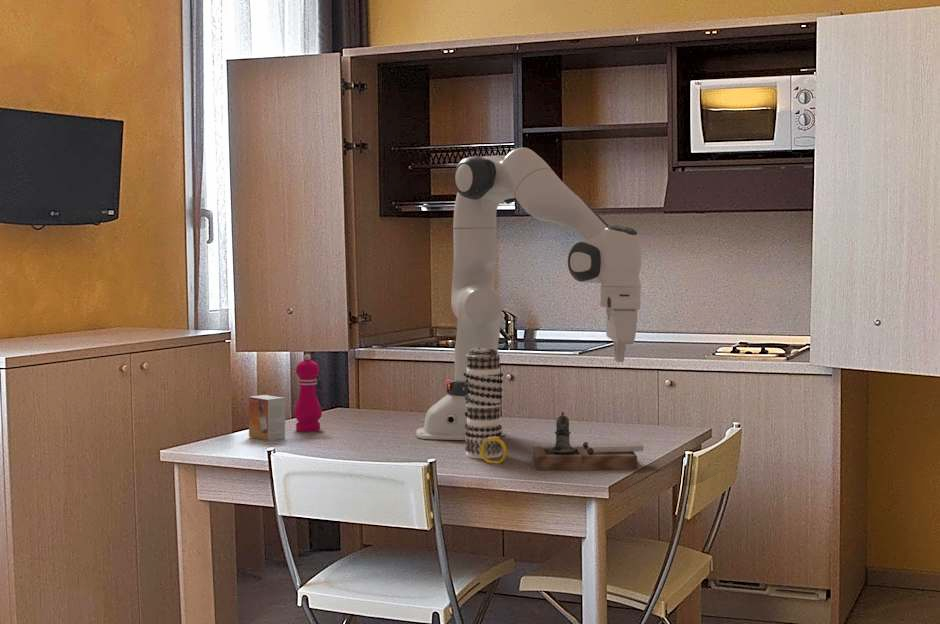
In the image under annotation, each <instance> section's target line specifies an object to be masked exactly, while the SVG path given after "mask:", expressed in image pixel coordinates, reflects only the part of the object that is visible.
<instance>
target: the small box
mask: <svg viewBox="0 0 940 624" xmlns="http://www.w3.org/2000/svg"><path fill="white" fill-rule="evenodd" d="M248 437H249V438H254V439H259V440H261V441H266V442H271V441H276V440H277V441H278V440H283V439H286V398H285V397H283V396H281V397H280V396H274V395H269V394H268V395H267V394H261V395H252V396H248Z"/></svg>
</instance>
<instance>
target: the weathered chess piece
mask: <svg viewBox="0 0 940 624" xmlns="http://www.w3.org/2000/svg"><path fill="white" fill-rule="evenodd" d="M555 420H556V421H555V422H556V425H555V427H556V431H554V434H555V444H554V446H552V447H553V448H551V449H549V450H550V451H551V455H574V451H576V449H574V448H572V447H573V446H571V442H570V435H571V431H570V420H569V417H567V416H565V413H564V411H562V412H561V415H560V416H558V417H556V419H555Z"/></svg>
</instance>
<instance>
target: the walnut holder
mask: <svg viewBox="0 0 940 624" xmlns="http://www.w3.org/2000/svg"><path fill="white" fill-rule="evenodd" d="M587 444H589V442H588V441H584V442H583V444H582V445H581V446H580V445H579V446H571V447H572V448H574V449H576V451H574V455H551V451H550V450H549V449H551V448H553V447H554V446H532V462H533V464H534V466H535V469H536V471H593V470H594V471H606V470H608V471H610V470H612V471H621V470H622V471H623V470H624V471H628V470H630V471H632V470H635V471H637V470H638V455H637V454H636V453H635V452H604V453H593V452H594V451H593V449H592V448H588V449H587Z"/></svg>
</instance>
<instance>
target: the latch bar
mask: <svg viewBox="0 0 940 624" xmlns="http://www.w3.org/2000/svg"><path fill="white" fill-rule="evenodd" d="M588 443H589V442H588ZM588 448H592V449H593V451H594V452H593V453H604V452H634V453H635V452H644V445H643V444H642V442H640V441H629V442H627V441H625V442H597V443H596V442H594V443H592V442H591V443H589V444H587V449H588Z"/></svg>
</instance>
